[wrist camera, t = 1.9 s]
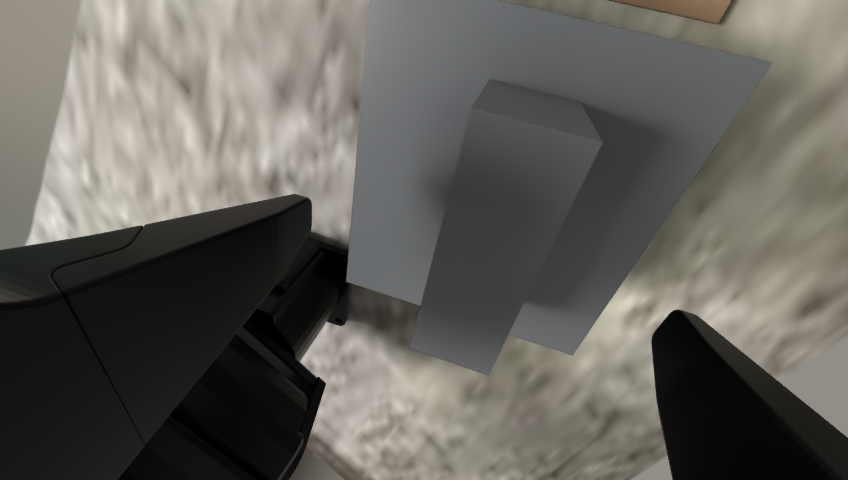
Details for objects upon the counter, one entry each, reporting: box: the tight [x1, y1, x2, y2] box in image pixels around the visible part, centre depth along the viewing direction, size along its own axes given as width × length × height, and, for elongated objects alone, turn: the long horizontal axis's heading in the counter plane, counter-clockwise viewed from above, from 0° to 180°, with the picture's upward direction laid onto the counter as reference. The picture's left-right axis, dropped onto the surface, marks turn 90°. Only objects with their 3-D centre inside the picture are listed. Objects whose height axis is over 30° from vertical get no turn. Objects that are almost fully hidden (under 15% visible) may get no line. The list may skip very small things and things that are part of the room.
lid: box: [346, 0, 772, 375], centre depth 11 cm, size 10×9×6 cm
